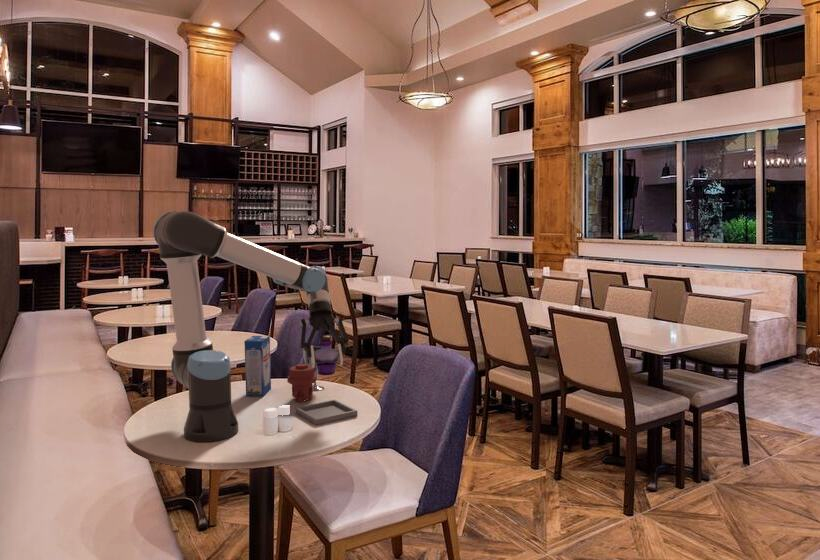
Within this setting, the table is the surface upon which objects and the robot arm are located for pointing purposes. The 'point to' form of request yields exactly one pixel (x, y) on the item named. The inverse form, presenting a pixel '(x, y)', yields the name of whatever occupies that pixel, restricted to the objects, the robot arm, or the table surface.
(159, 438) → the table surface
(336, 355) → the potion bottle
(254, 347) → the milk carton
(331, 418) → the charcoal tray
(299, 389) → the mechanical component
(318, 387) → the wine glass
